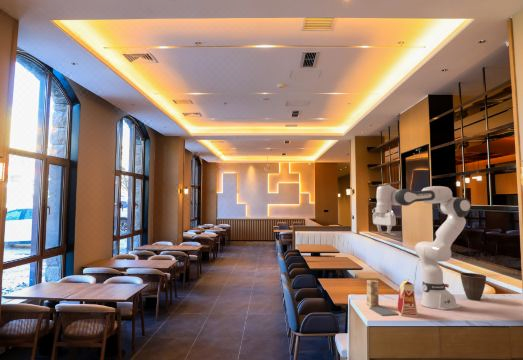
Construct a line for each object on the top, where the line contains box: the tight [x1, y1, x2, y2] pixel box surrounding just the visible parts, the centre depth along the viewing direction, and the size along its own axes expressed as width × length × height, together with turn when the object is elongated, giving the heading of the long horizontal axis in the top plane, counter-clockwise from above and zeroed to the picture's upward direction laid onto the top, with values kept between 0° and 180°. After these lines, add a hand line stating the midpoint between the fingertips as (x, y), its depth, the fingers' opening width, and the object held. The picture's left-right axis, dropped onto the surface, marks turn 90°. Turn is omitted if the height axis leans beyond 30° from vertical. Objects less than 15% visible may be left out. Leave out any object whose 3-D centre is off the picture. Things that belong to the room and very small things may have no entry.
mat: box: [369, 306, 399, 317], centre depth 201 cm, size 10×14×1 cm
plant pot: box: [459, 272, 487, 302], centre depth 231 cm, size 15×15×16 cm
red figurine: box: [396, 278, 419, 318], centre depth 198 cm, size 9×9×20 cm
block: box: [366, 279, 380, 307], centre depth 213 cm, size 5×5×15 cm
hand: (384, 232), depth 214 cm, fingers open, 8 cm apart
